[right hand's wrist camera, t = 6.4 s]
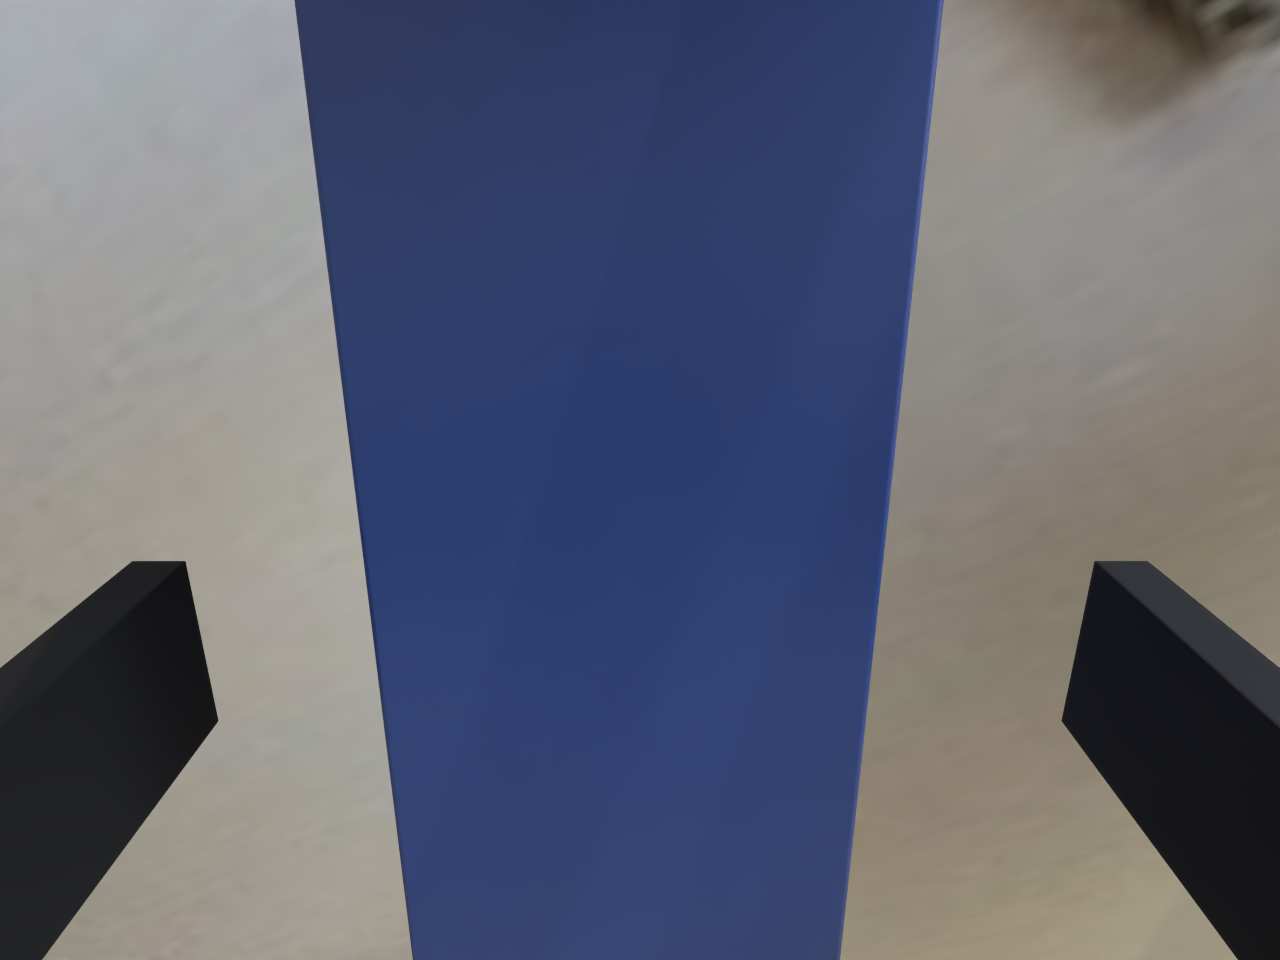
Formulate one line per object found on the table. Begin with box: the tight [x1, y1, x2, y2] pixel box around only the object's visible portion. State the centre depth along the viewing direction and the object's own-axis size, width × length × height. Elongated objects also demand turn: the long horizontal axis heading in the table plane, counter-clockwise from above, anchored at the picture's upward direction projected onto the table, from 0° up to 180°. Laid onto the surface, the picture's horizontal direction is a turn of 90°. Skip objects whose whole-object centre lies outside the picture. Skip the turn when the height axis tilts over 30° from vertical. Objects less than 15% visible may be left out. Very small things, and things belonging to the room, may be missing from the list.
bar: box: [295, 0, 944, 960], centre depth 12 cm, size 23×6×10 cm, turn 0°
